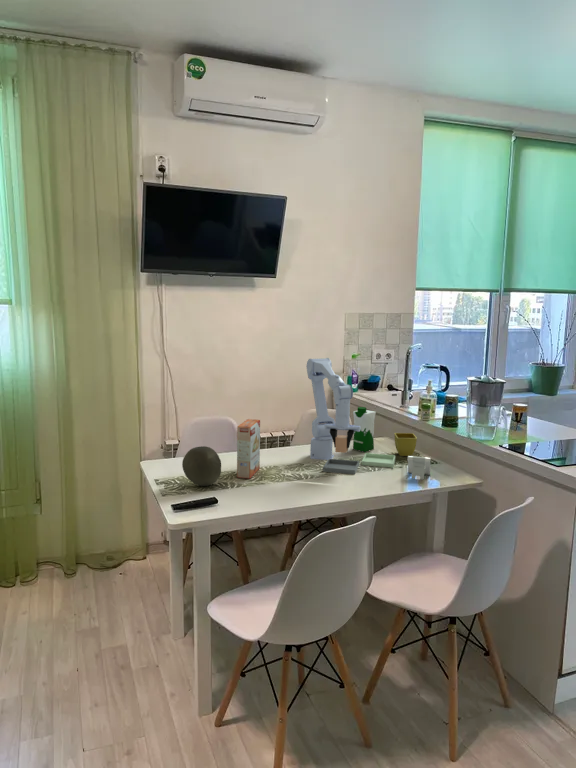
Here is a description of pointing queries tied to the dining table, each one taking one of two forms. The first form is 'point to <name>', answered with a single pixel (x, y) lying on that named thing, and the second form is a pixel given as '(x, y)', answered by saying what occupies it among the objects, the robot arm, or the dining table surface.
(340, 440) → the terracotta block
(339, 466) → the charcoal tray
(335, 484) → the dining table surface
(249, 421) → the cracker box
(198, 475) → the dark olive ball
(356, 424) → the milk carton
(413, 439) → the flower pot
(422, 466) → the portable electronic device stand
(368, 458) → the green tray
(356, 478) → the dining table surface
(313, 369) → the robot arm
